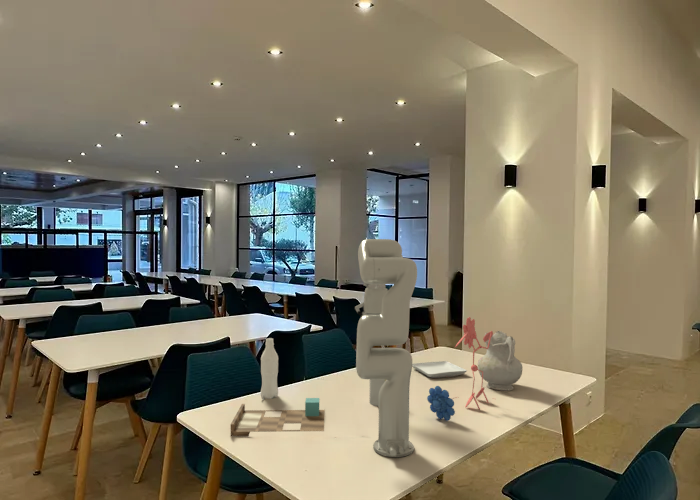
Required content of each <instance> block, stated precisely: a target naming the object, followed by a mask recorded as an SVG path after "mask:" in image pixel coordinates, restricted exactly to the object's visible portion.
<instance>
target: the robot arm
mask: <svg viewBox="0 0 700 500" xmlns="http://www.w3.org/2000/svg"><path fill="white" fill-rule="evenodd" d="M357 250H358V251H357V256H358V257H357V259H358V267H359V274H360V275H359V276H360V278H361V281H362V283H363V286H365V287H366V288H365V290H364V294H363V295H364V296H363V302H362V303H360V304H358V305H356V306H354V310H355V311H356V313H357V315H359V316H360V318H359V320H358V323H357V328H356V353H355V354H356V356H355V357H356V359H355V362H356V363H355V367H356V368H355V369H356V373H357V375H358V377H359V378H360V379H361V380H370V379H384V380H386V381H385V382H384V384H383V385H382V387H381V388H380V391H379V406H378V438H377V440H375V441H374V442H373V445H372V446H373V450H374V452H376V454H378V455H381V456H385V457H387V458H388V457H389V458H403V457H407V456H410V455H411V454H412V453H413V452H414V450H415V448H414V447H415V445H414V443H413V442H411V441H410V384H411V377H412V370H413V367H412V364H413V356H412V354H411V352H410V351H408V350H407V349H405V348H402V347H379V346H399V345H403V344H405V343H406V342H407V341H408V338H409V332H410V330H409V329H410V312H411V311H410V310H411V309H410V308H411V307H410V306H411V305H410V304H411V299H412V295H413V293H414V290H415V287H416V283H417V280H418V268H417V263H416V262H415V260H413V259H411V258H408V257H403V248H402V245H401V244H400V243H399V242H398V241H396V240H394V239H392V238H391V239H389V238H387V239H386V238H366V239H364V240H363V239H362V241H361V242H360V244H359V246H358V249H357ZM386 285H392V286H391V287H390V288H389V289H388V288H386ZM361 308H363V311H361V310H360V309H361ZM375 346H378V347H375Z"/></svg>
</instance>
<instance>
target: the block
mask: <svg viewBox="0 0 700 500" xmlns="http://www.w3.org/2000/svg"><path fill="white" fill-rule="evenodd" d="M304 406H305V407H304V410H305V416H319V410H320V397H306V398H305V402H304Z"/></svg>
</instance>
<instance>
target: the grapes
mask: <svg viewBox="0 0 700 500" xmlns="http://www.w3.org/2000/svg"><path fill="white" fill-rule="evenodd" d="M428 392H429V393H428V396H427V397H426V400H427V402H428V403H429V404H430V406H429V409H430V411H431V412H432V413H434V414H435V415H436V418H437V419H438V420H443V419H444V420H445V421H446V422H448V421H450V420H451V419H452V417H454V415H455V414H456V410H455V408H454V406H455V402H454V400H453V398H452V397H451V398H450V393H449V391H448V390H446V389H443V388H441V386H439V385H436V386H435V387H430V388H429V391H428ZM451 416H452V417H451Z"/></svg>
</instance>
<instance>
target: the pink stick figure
mask: <svg viewBox="0 0 700 500" xmlns="http://www.w3.org/2000/svg"><path fill="white" fill-rule="evenodd" d="M465 322H466V323H465V324H463V325H462V330H463V336H462V337H461V338H460V339H459V341H458V342H457V343H456V344H455V346H454V348H456V347H458V346H459V345H460V344H461V343H462V341H463V343H464V345H465V346H466V345H467V346H468V348H469V349H471V347H472V348H473V352H472V365H471V366H470V371H472V376H473V380H472V381H473V382H472V393H471V395H470V397H469V398H468V400H467V401H466V404H465V408H467V407H468V406H469V405H470V403H471V402H472V401H473V400H474V401H475V404H476V406H477V409H478V410H481V408H480V405H479V404H478V402H477V400H478V399H479V397H480V396H481V395H482V394H483V396H484V398H485V400H486V403H487V404H489V403H490V402H489V399H488V398H487V395H486V394H485V387H483V380H484V379H483V371H481V372H482V377H481V386H480V390H479V391H478V392H477V394H476V393H475V392H474V387H475V374H474V372H477V371H478V372H479V371H480V370H478V364H475V352H477V351H478V350H480V349H485V350H487V349H488V348H489V344H490V340H491V337H492V336H493V335H494V332H493V330H491V331H489V332H486V333H487V334H486V335H485V334H484V335H485V336H483V338H482V340H483V342H484V343H485V342H486V341H487V340H489V343H488V347H486V346H482V345H481V344H480V342H479V340H478V338H477V337H478V336H477V332H476V327H475V324H476V320H475V318H473V319H471V316H468V317H467V318H466V321H465ZM474 340H475V341H476V343H477V344H478V347H477V348H476V347H475V345H474ZM475 395H476V396H475ZM457 398H458V396H456V397H453V398H452V400H453V399H457ZM492 399H494V400H495V398H492Z"/></svg>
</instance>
